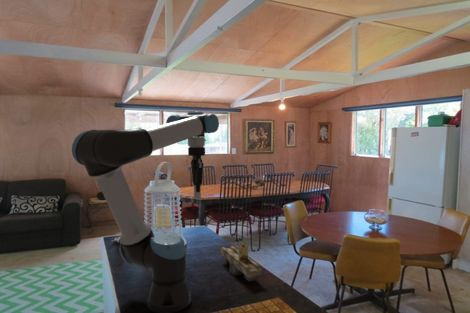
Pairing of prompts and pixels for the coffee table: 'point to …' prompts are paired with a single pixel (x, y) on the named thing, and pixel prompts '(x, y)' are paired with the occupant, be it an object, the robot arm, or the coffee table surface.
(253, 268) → the stand
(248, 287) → the coffee table surface
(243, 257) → the rider
